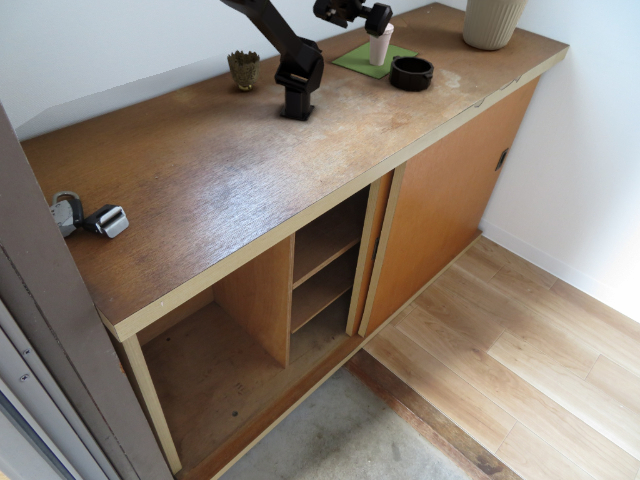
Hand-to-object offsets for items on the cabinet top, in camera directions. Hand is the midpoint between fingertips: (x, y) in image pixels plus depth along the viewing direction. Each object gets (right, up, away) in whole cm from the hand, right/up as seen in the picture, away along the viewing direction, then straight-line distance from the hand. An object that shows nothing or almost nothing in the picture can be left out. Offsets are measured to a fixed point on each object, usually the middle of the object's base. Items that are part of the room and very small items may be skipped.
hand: (362, 31), depth 108 cm
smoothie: (+5, -3, +12) cm, 13 cm away
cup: (-28, -15, -2) cm, 32 cm away
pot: (+13, -10, +5) cm, 17 cm away
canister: (+40, +9, +27) cm, 48 cm away
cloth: (+5, 0, +15) cm, 16 cm away
